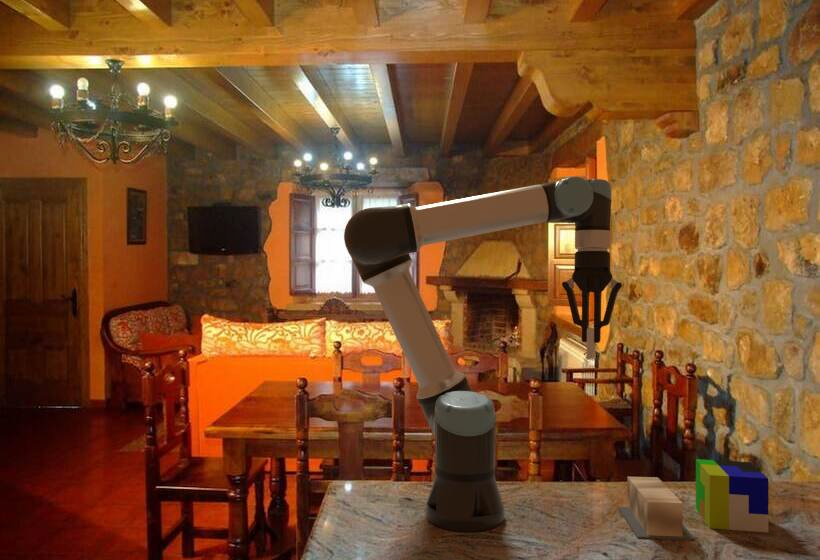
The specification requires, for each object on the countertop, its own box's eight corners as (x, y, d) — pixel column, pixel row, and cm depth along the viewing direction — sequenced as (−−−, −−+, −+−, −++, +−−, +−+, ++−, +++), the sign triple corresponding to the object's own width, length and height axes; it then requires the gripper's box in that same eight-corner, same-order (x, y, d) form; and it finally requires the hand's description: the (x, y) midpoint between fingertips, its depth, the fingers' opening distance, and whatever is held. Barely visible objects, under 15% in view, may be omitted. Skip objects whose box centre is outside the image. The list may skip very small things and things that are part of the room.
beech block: (627, 476, 124) (648, 502, 110) (657, 477, 124) (682, 503, 110) (627, 506, 124) (648, 535, 110) (657, 507, 124) (682, 536, 110)
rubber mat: (618, 508, 124) (618, 507, 124) (669, 510, 123) (669, 508, 123) (637, 538, 110) (637, 536, 110) (695, 540, 109) (695, 538, 109)
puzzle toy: (768, 532, 112) (768, 478, 112) (709, 528, 114) (709, 475, 114) (749, 512, 122) (749, 462, 122) (695, 508, 124) (695, 459, 124)
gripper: (625, 251, 136) (623, 357, 136) (565, 251, 141) (564, 353, 141) (621, 249, 129) (620, 361, 129) (559, 250, 134) (557, 357, 134)
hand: (590, 357), depth 135 cm, fingers closed
